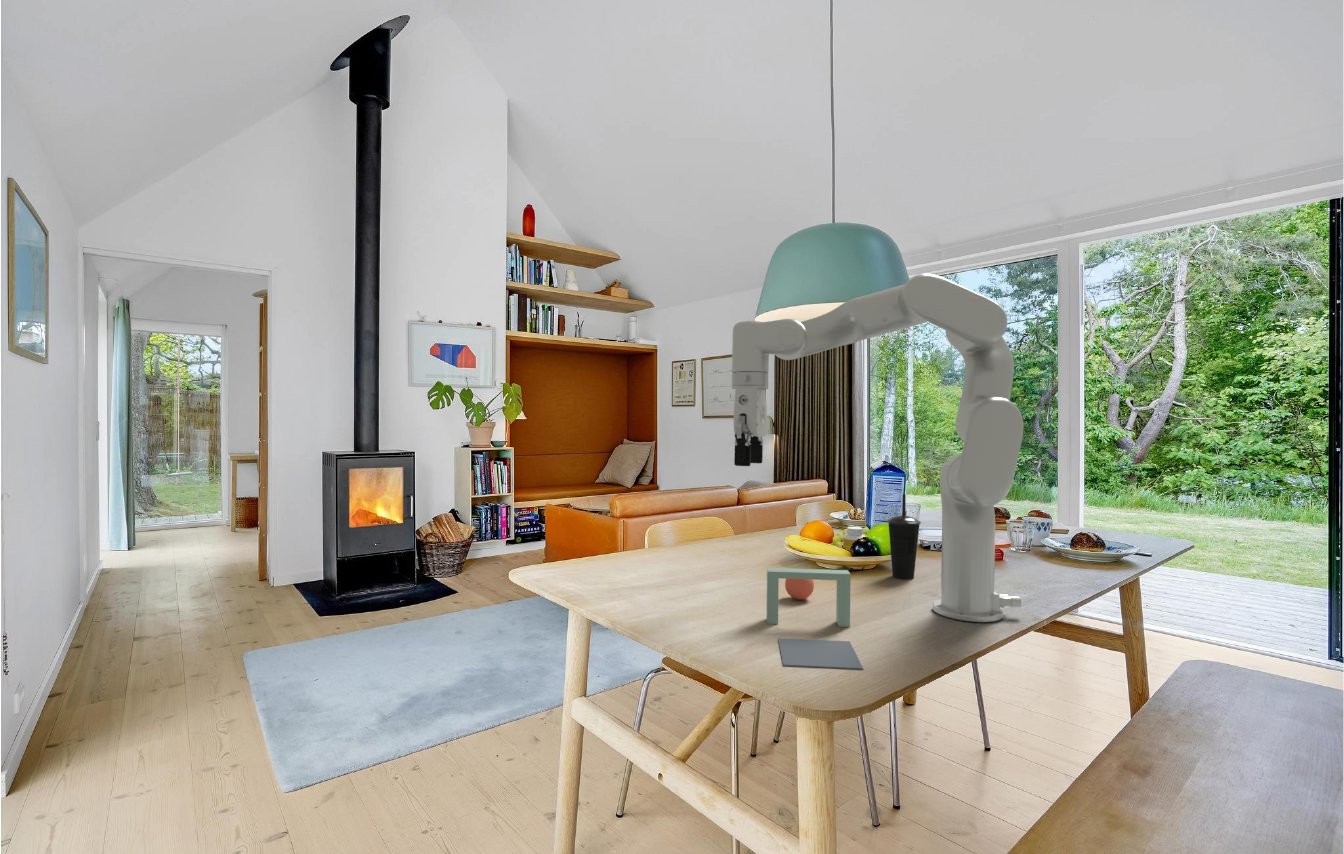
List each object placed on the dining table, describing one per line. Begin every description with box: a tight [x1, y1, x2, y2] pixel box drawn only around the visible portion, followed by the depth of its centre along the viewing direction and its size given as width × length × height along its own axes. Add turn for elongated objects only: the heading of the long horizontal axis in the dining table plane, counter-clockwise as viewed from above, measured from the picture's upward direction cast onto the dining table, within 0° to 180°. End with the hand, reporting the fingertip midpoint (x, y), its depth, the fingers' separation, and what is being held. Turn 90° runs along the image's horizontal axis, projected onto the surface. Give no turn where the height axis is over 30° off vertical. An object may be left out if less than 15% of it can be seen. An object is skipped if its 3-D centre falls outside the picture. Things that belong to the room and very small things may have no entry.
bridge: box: [766, 567, 851, 628], centre depth 120 cm, size 3×15×10 cm, turn 84°
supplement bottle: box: [842, 526, 866, 570], centre depth 166 cm, size 6×6×10 cm
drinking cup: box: [886, 493, 922, 580], centre depth 156 cm, size 8×8×20 cm
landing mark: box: [777, 637, 864, 671], centre depth 104 cm, size 12×12×1 cm
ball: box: [784, 579, 815, 601], centre depth 136 cm, size 6×6×6 cm
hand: (748, 464), depth 134 cm, fingers open, 9 cm apart
